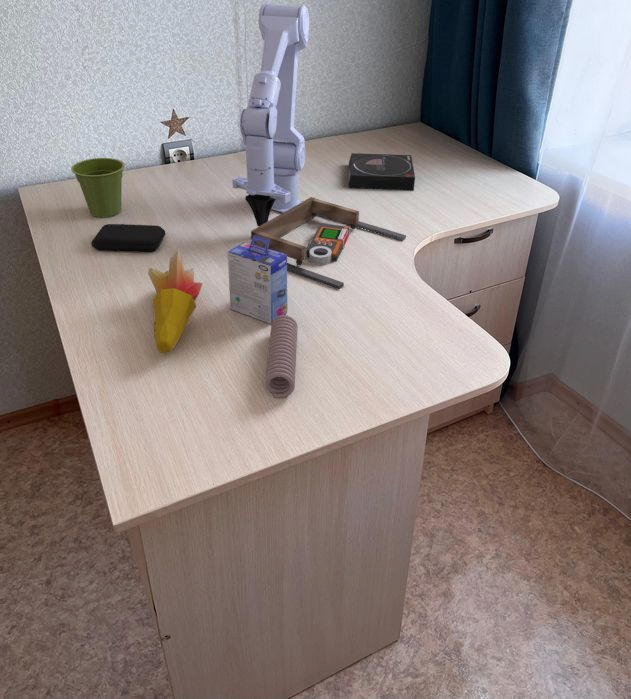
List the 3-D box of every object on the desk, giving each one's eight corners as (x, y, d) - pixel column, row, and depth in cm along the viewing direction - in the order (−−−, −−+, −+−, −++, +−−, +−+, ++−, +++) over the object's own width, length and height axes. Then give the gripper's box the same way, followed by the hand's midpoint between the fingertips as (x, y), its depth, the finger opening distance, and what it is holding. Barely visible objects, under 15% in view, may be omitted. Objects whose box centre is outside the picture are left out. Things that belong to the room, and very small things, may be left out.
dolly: (251, 250, 144) (250, 231, 141) (311, 214, 159) (311, 196, 156) (301, 267, 138) (301, 248, 135) (358, 228, 153) (359, 210, 150)
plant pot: (138, 215, 158) (131, 169, 151) (88, 226, 153) (79, 179, 146) (122, 198, 166) (115, 153, 159) (74, 208, 161) (64, 162, 154)
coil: (269, 313, 116) (262, 377, 102) (296, 311, 116) (292, 375, 101) (273, 335, 119) (266, 400, 104) (299, 333, 119) (296, 398, 104)
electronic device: (303, 254, 139) (321, 220, 150) (303, 266, 141) (321, 232, 152) (334, 258, 137) (350, 224, 149) (334, 270, 139) (350, 236, 151)
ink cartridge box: (289, 311, 124) (288, 242, 116) (272, 325, 121) (270, 254, 112) (247, 296, 129) (243, 228, 120) (229, 309, 125) (224, 239, 116)
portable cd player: (348, 167, 186) (349, 153, 184) (409, 169, 186) (411, 155, 183) (347, 190, 173) (348, 175, 171) (413, 192, 172) (415, 177, 170)
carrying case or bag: (169, 233, 151) (105, 231, 152) (167, 221, 149) (103, 218, 150) (157, 255, 142) (90, 253, 143) (156, 242, 141) (87, 240, 141)
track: (237, 253, 143) (237, 249, 143) (311, 209, 161) (311, 206, 161) (339, 289, 131) (339, 286, 131) (405, 238, 150) (406, 235, 149)
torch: (163, 378, 114) (173, 287, 132) (202, 360, 112) (207, 271, 130) (133, 348, 108) (148, 257, 127) (173, 329, 106) (183, 240, 125)
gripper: (221, 163, 141) (225, 222, 149) (275, 179, 134) (277, 240, 142) (242, 154, 146) (245, 212, 154) (296, 169, 139) (296, 228, 147)
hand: (262, 224), depth 148 cm, fingers closed
